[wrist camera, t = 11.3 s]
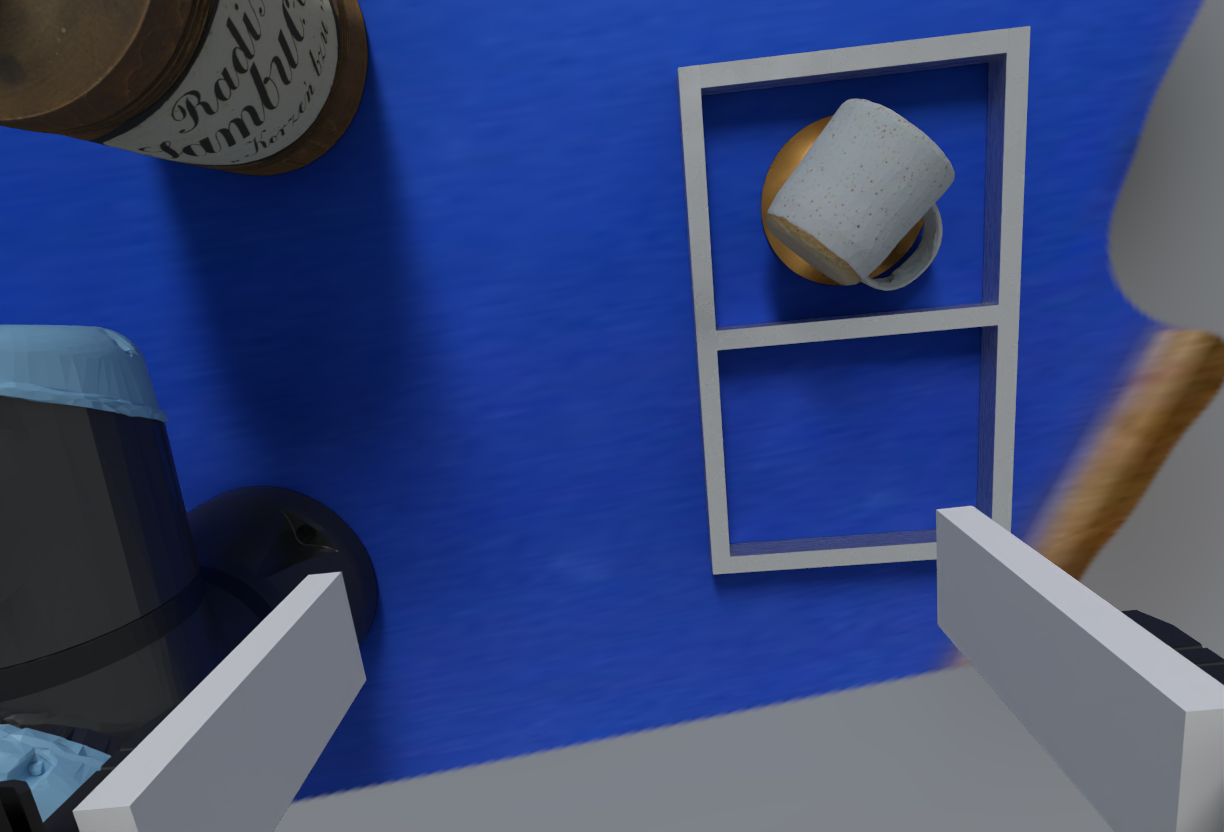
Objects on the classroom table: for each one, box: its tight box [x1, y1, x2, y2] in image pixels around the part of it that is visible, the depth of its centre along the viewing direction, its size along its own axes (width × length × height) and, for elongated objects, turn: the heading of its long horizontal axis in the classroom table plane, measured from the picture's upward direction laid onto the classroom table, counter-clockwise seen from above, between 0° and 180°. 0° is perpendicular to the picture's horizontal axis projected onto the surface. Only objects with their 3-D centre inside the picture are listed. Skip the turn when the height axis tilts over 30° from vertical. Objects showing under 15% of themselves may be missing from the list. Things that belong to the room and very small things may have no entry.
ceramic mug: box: [766, 99, 955, 291], centre depth 38 cm, size 10×8×7 cm
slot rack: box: [676, 26, 1030, 574], centre depth 42 cm, size 19×31×2 cm, turn 6°
